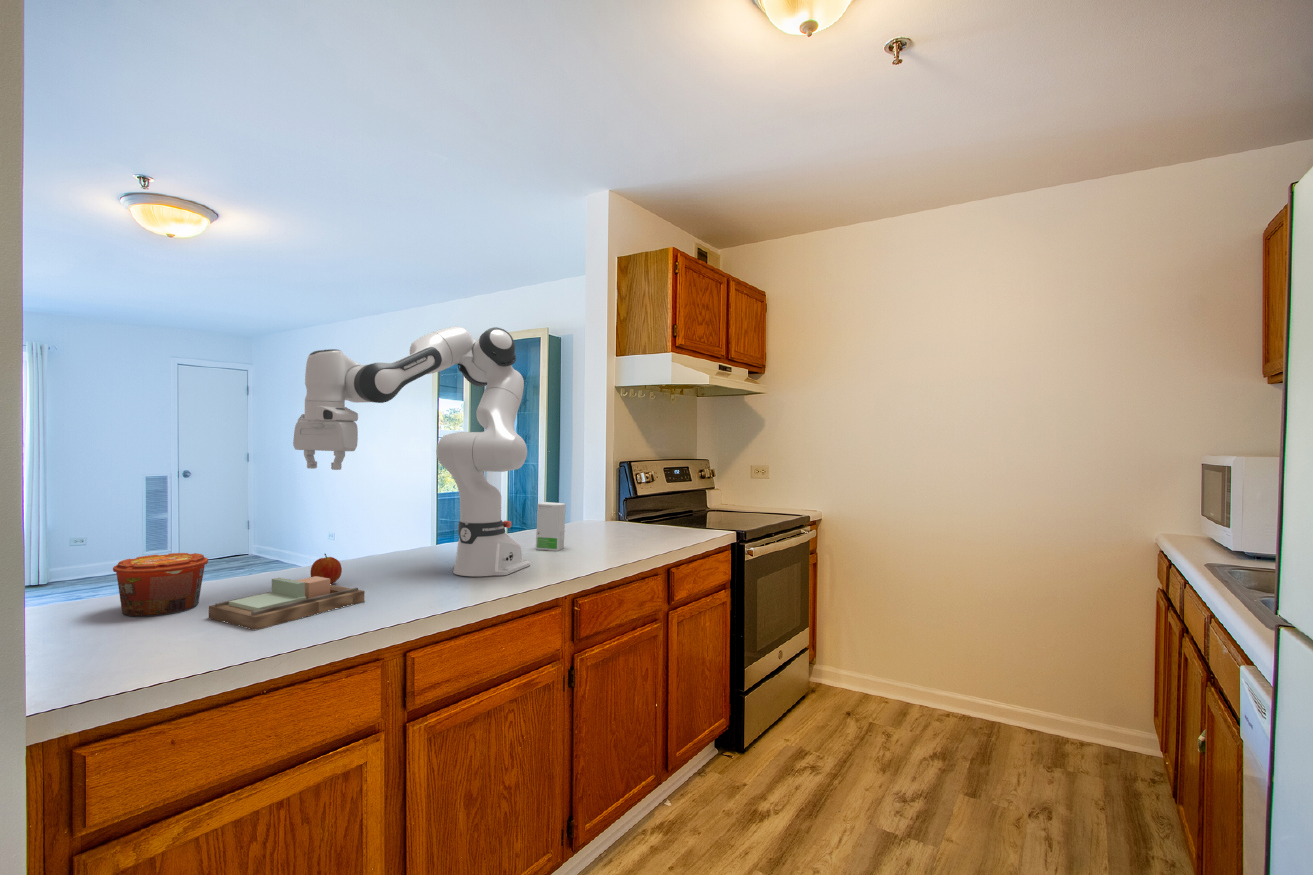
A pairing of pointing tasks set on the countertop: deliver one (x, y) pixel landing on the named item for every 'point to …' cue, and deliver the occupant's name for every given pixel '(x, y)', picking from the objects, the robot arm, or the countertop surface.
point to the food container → (160, 583)
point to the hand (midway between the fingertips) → (323, 469)
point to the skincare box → (550, 526)
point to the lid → (274, 595)
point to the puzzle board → (285, 609)
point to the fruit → (327, 568)
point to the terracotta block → (316, 586)
